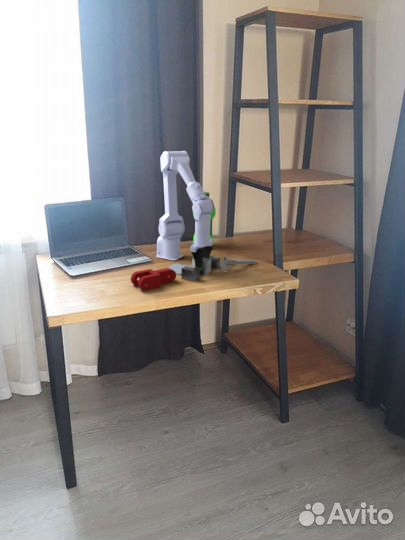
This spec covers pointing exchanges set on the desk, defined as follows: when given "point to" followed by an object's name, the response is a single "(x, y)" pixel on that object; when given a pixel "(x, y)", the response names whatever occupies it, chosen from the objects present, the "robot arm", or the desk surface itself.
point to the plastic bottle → (210, 222)
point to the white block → (204, 265)
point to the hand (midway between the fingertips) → (201, 265)
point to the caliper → (234, 263)
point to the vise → (198, 270)
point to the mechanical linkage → (152, 278)
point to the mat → (177, 268)
